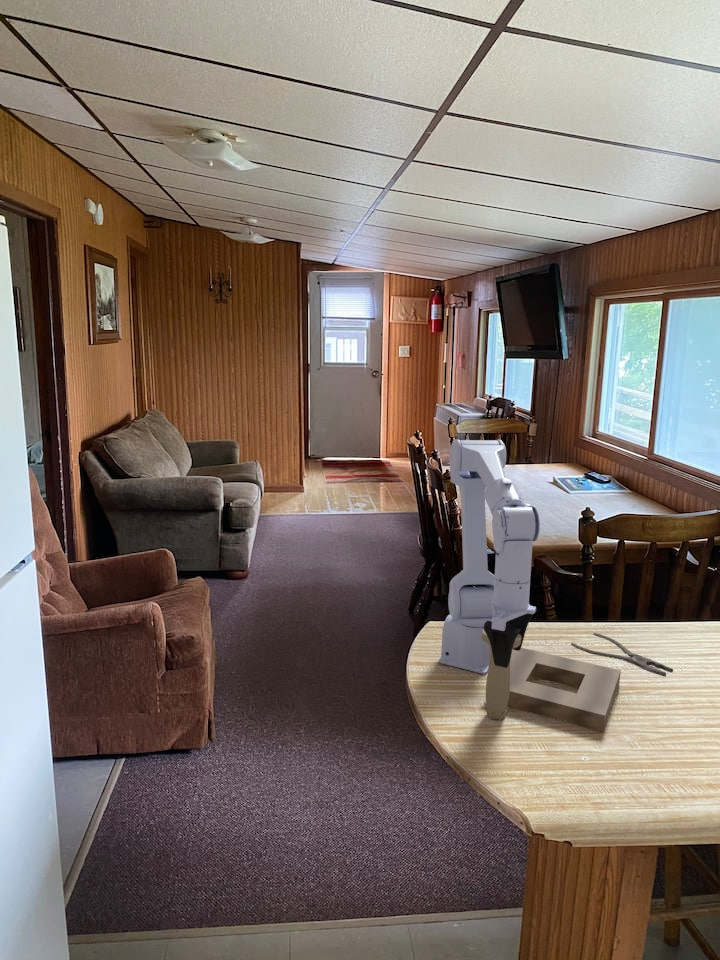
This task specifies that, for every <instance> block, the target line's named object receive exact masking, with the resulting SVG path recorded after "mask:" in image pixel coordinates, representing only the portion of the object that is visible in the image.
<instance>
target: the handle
mask: <svg viewBox="0 0 720 960" xmlns="http://www.w3.org/2000/svg"><path fill="white" fill-rule="evenodd" d="M482 639H483V641H485V642H486V643H487V644H489V645H490V658H489V667H488V672H487V673H486V674H487V675H486V683H485V703H486V705H485V706H486V707H485V713H486V715H487V716H488V717H489V718H490V719H491V720H499V721H502V720H504V718H505V717H506V716H507V709H508V706H507V705H508V700H509V693H510V662H509V665H508V667H507V668H505V667H500V666H496V665H495V664H494V660H493V654H492V649H491V644H490V641H489V638H488V636H487V634H486V632H485V631H484V630H483V631H482ZM520 644H521V635H520V634H518V635H517V637H516V639H515V642H514V645H513V649H514V648H517V647H518V646H519V645H520ZM513 649H512V650H513Z"/></svg>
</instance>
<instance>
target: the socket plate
mask: <svg viewBox="0 0 720 960" xmlns="http://www.w3.org/2000/svg"><path fill="white" fill-rule="evenodd" d="M621 673H622V672H621V669H617V668H613V667H607V666H605V665H600V664H599V665H598V664H594V663H590V662H585V661H582V660H577V659H572V658H569V657H565V656H564V657H563V656H560V655H556V654H551V653H546V652H542V651H541V652H540V651H538V650H532V649H527V648H523V647H521V649H520V650H519V651H517V650H513V649H512V654H511V659H510V693H509V700H508V705H507V708H512V709H515V710H519V711H523V712H527V713H530V714H534V715H539V716H542V717H546V718H548V719H549V718H550V719H552V720H556V721H560V722H564V723H568V724H571V725H574V726H580V727H583V728H585V729H587V728H588V729H590V730H593V731H598V732H602V733H604V732H605V728H606V726H607V722H608V720H609V717H610V713H611V710H612V709H613V705H614V701H615V699H616V696H617V693H618V690H619V687H620V680H621ZM535 679H539V680H544V681H548V682H553V683H557V684H559V685H560V684H561V685H565V686H569V687H573V688H577V689H578V691H577V692H572V691H567V690H564V689H560V688H556V687H551V686H547V685H543V684H539V683H535V682H533V681H534V680H535Z"/></svg>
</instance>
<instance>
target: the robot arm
mask: <svg viewBox="0 0 720 960" xmlns="http://www.w3.org/2000/svg"><path fill="white" fill-rule="evenodd" d="M506 464H507V448H506V445H505V443H504V442H503V441H502V440H501V439H495V440H493V439H492V440H491V439H490V440H489V439H488V440H487V439H486V440H485V439H484V440H482V439H479V440H478V439H477V440H476V439H474V440H473V439H461V440H460V439H459V438H458V439H457V438H456V439H454V440H453V441H452V443H451V446H450V450H449V474H450V481H451V483H452V484H454V485H456V486H458V488H459V489H458V490H459V493H460V494H459V496H460V507H461V508H460V512H461V513H460V514H461V537H462V539H461V540H462V541H461V542H462V543H461V545H462V568H463V569H462V570H460V572H459V573H457V574H456V575H455V576H453V577H452V578H451V580H450V582H449V592H448V597H447V598H448V602H447V603H448V611H449V614H448V615H447V616H446V618H445V620H444V623H443V627H442V633H441V652H440V660H439V663H440V664H443V665H446V666H451V667H455V668H458V669H459V668H460V669H462V670H467V671H470V672H475V673H477V674H482V675H485V674H488V667H489V658H490V645H489V644H487V643H486V642H485V641H483V639H482V631H483V630H484V631H485V632H486V634H487V636H488V638H489V641H490V644H491V649H492V654H493V660H494V664H495V665H496V666H500V667H505V668H507V667H508V665H509V662H510V659H511V654H512V650H517V651H519V650H520V649H521V648H522V646H523V643H524V639H525V634H526V631H527V628H528V625H529V623H530V621H531V619H532V617H533V615H534V614H535V613H536V612H537V607H536V606H533V605H531V604H530V591H531V590H530V589H531V588H530V587H531V573H532V558H533V557H532V555H533V542H536V541H537V540H538V539H539V535H540V530H541V529H540V527H541V526H540V525H541V523H540V515H539V511H538V510H537V507H536V506H535V505H533V504H532V505H531V504H530V503H525V501H524V498H523V497H522V494H521V492H520V491H519V490H520V489H519V488H518V487H517V485H516V483H515V482H514V481H513V480H511V479H509V478H507V476H506V473H505V470H504V468H505V466H506ZM486 504H487V506H488V508H489V511H490V514H491V516H492V520H491V523H492V524H491V525H492V526H491V528H492V535H493V536H492V537H493V543H492V544H493V549H494V550H495V561H494V562H495V565H494V574H493V573H492V572H491V571H489V570H488V569H489V567H488V566H489V565H488V563H489V562H488V541H487V539H488V538H487V518H486V515H487V513H486ZM468 585H485V586H473V587H472V586H468ZM518 634H520V635H521V644H520V645H519V646H518V647H517V648H514V649H513V645H514V642H515V639H516V637H517V635H518Z"/></svg>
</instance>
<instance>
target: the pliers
mask: <svg viewBox="0 0 720 960" xmlns="http://www.w3.org/2000/svg"><path fill="white" fill-rule="evenodd" d="M593 635H594V636H595V637H599V638H603V639H605V640H607V641H609V642H611V643H613V644H615V646H617V647H619V648H621V649H620V650H621V651H622V652H623V653H625V654H626V653H627V654H628V655H627V654H626V655H627V656H624V655H620V654H614V653H610V652H609V653H606V652H603V651H602V652H601V651H597V650H596V651H595V650H591V649H588V648H585V647H583V646H580V645H579V644H577V643H575V642H571V644H570V645H571V646H572V647H575V648H576V649H580V650H581V651H584V652H587V653H590V654H594V655H598V656H602V655H603V657H607V656H609V657H608V658H612V657H614V658H613V659H617V658H618V659H619V660H622V659H623V660H622V661H625V660H626V661H625V662H629V663H631V664H634V665H636V666H638V667H639V668H643V670H646V671H649V672H651V673H655V674H658V675H662V676H664V677H665V676H667V672H665V671H663V670H666V671H668V672H671V673H672V672H673V671H674V669H673V668H672V667H670V666H667V665H664V664H662V663H660V662H657V661H655V660H652V659H651V658H648V657H644V656H642V655H639V654H636V653H634V652H632V651H630V650H629V649H627V648H626V647H625V646H624V645H622V644H621V643H620V642H618V641H617V640H615V639H613V638H611V637H609V636H606V635H603V634H602V633H601V634H600V633H597V632H594V633H593ZM630 656H631V657H630ZM658 668H660V669H658ZM661 669H663V670H661Z"/></svg>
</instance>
